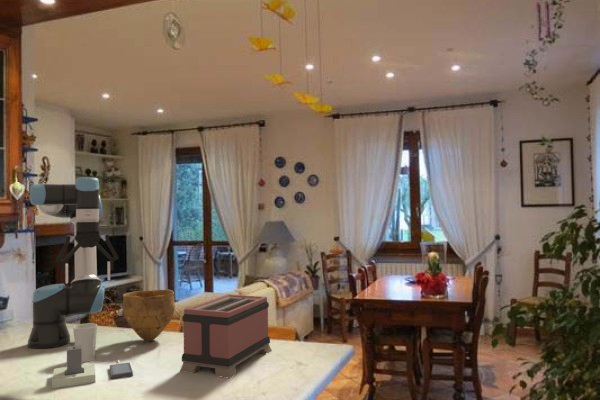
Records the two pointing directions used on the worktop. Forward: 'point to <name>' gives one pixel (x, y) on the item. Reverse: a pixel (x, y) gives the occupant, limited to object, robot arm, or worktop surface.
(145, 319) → the bowl
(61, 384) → the outlet plate
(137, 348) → the worktop surface
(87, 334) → the cup
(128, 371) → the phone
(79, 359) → the block
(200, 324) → the toaster
